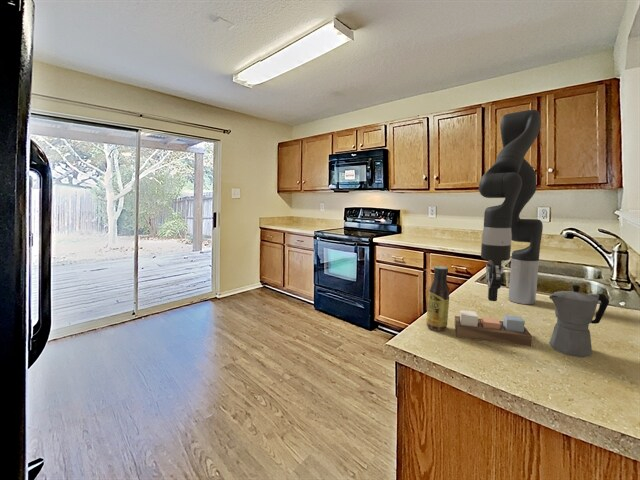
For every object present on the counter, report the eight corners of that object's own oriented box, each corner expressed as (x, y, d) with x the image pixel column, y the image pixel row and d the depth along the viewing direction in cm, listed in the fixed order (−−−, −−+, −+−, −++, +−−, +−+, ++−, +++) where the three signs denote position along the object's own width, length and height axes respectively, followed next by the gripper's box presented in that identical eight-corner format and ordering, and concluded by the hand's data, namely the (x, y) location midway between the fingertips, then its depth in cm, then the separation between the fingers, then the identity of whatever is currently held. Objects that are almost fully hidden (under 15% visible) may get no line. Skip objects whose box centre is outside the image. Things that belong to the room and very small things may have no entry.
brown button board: (454, 324, 103) (454, 315, 103) (521, 332, 97) (522, 323, 96) (456, 337, 94) (457, 327, 93) (531, 346, 87) (532, 336, 87)
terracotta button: (480, 329, 98) (481, 316, 97) (496, 331, 96) (497, 318, 96) (482, 334, 94) (483, 321, 93) (499, 336, 92) (500, 323, 92)
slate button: (502, 327, 96) (503, 314, 95) (519, 329, 94) (520, 316, 94) (506, 333, 92) (507, 319, 91) (523, 335, 90) (524, 321, 90)
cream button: (459, 322, 100) (460, 310, 99) (475, 324, 98) (476, 311, 98) (461, 327, 95) (461, 314, 95) (477, 329, 94) (478, 316, 94)
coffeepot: (558, 357, 81) (564, 289, 79) (533, 341, 91) (539, 280, 88) (618, 358, 81) (626, 290, 79) (588, 342, 90) (594, 280, 88)
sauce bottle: (422, 325, 102) (424, 265, 100) (437, 323, 104) (440, 264, 102) (436, 333, 96) (439, 269, 93) (452, 330, 98) (455, 268, 96)
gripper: (516, 246, 84) (512, 308, 86) (505, 240, 97) (501, 295, 99) (485, 245, 87) (481, 305, 89) (478, 239, 99) (475, 293, 101)
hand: (492, 300), depth 94 cm, fingers closed
